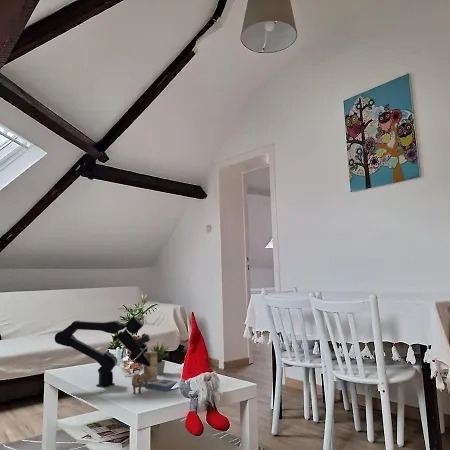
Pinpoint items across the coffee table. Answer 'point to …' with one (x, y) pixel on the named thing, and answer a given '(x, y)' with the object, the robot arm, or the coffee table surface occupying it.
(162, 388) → the blueprint board
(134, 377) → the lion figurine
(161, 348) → the house plant
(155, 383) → the grey socket
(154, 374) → the oak pillar
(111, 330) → the robot arm
